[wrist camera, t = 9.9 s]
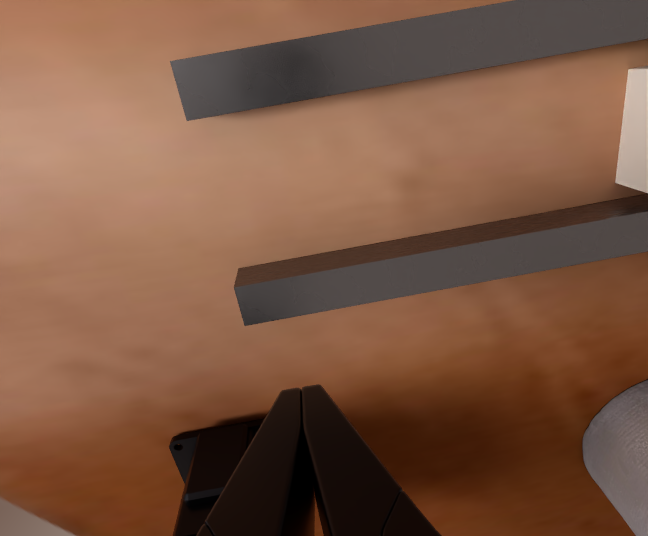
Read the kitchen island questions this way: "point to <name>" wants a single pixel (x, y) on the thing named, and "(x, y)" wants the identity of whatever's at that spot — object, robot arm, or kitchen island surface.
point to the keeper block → (634, 133)
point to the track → (402, 66)
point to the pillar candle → (622, 454)
